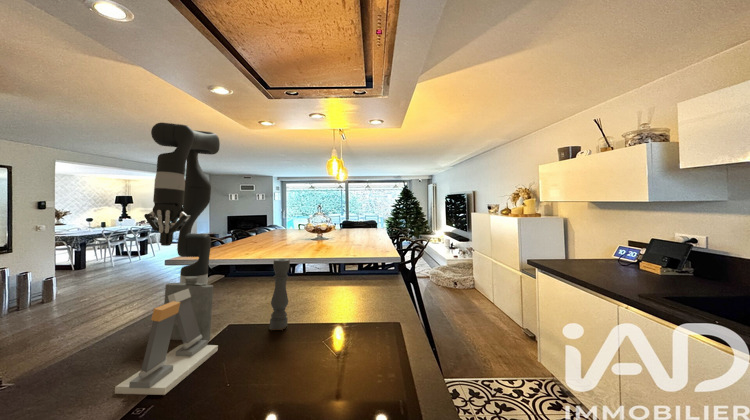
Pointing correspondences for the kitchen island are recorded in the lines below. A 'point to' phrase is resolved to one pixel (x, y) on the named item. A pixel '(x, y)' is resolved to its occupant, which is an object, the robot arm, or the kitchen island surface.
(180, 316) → the grey lever
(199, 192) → the robot arm
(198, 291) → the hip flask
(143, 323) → the kitchen island surface
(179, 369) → the switch panel
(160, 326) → the orange lever
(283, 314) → the candle holder
